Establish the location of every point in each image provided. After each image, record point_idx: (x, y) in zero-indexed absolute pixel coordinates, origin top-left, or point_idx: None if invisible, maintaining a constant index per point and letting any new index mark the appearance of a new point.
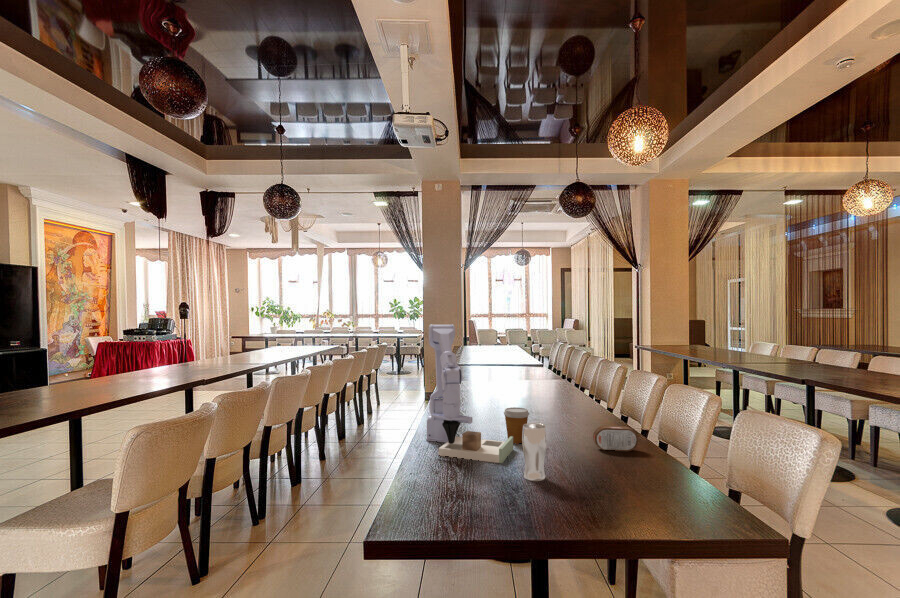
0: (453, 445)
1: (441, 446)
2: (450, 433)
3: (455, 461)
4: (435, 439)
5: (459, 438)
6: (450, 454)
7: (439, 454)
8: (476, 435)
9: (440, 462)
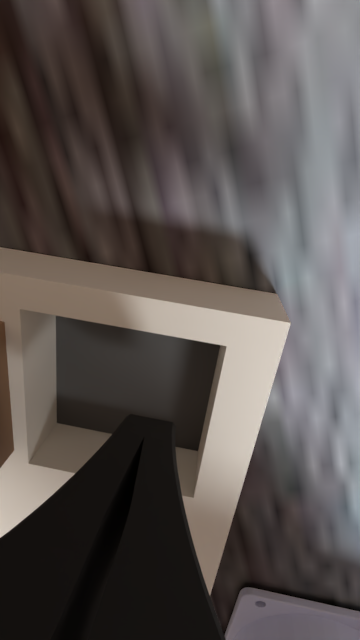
0: None
1: (264, 394)
2: (98, 522)
3: (64, 146)
4: (356, 631)
5: None
6: (144, 279)
7: (268, 296)
8: None
9: (215, 57)
